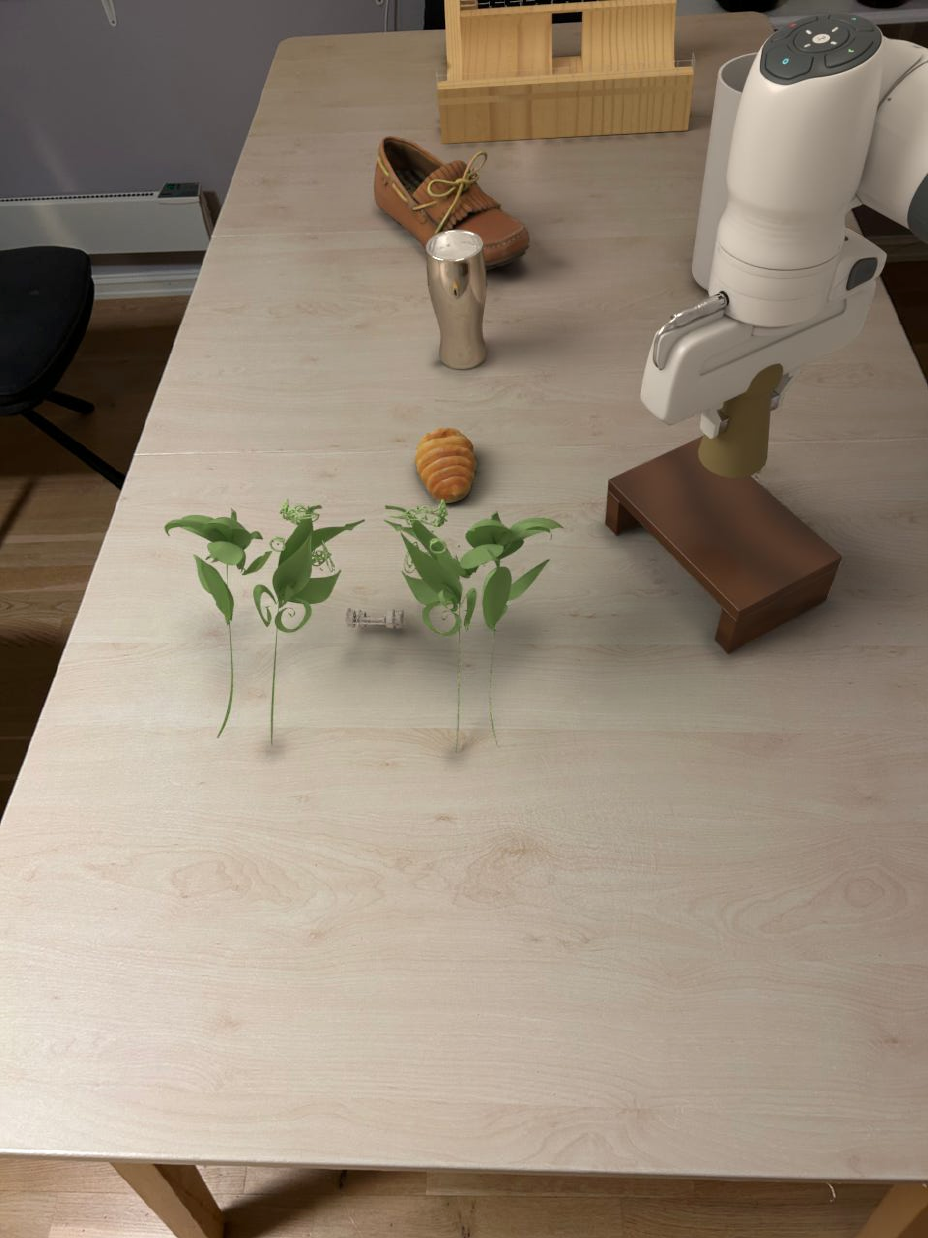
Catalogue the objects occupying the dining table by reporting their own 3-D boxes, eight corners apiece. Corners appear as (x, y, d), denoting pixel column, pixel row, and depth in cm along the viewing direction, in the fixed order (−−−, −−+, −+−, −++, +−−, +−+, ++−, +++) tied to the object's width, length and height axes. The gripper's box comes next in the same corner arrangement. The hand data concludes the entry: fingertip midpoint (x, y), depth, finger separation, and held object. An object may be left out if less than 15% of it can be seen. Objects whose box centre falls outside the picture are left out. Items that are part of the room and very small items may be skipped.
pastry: (484, 502, 102) (482, 476, 99) (423, 512, 101) (419, 486, 98) (471, 445, 107) (468, 419, 104) (413, 454, 107) (409, 429, 104)
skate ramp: (441, 150, 154) (431, 44, 141) (450, 53, 175) (442, -47, 162) (687, 136, 151) (700, 27, 138) (666, 40, 172) (676, -63, 159)
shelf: (696, 480, 101) (704, 434, 96) (826, 600, 90) (843, 556, 85) (604, 524, 98) (608, 479, 93) (727, 654, 87) (739, 611, 82)
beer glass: (459, 379, 115) (449, 268, 103) (424, 354, 119) (411, 244, 107) (502, 354, 118) (497, 244, 106) (466, 331, 121) (458, 221, 109)
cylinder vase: (683, 296, 123) (710, 95, 103) (698, 245, 130) (726, 48, 110) (782, 307, 120) (828, 102, 100) (791, 254, 127) (836, 54, 107)
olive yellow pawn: (776, 444, 84) (803, 340, 75) (753, 486, 81) (778, 383, 72) (712, 424, 86) (731, 321, 77) (687, 465, 83) (703, 362, 74)
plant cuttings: (559, 745, 90) (563, 515, 90) (560, 771, 73) (565, 488, 73) (209, 733, 94) (214, 512, 94) (132, 756, 77) (139, 486, 77)
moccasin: (540, 277, 128) (540, 190, 118) (458, 305, 125) (451, 219, 115) (443, 181, 146) (436, 100, 136) (370, 204, 143) (357, 122, 133)
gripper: (684, 342, 65) (664, 487, 76) (904, 248, 70) (856, 396, 81) (631, 299, 68) (619, 443, 79) (844, 212, 74) (805, 359, 84)
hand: (740, 418), depth 80 cm, fingers closed on olive yellow pawn, 4 cm apart
